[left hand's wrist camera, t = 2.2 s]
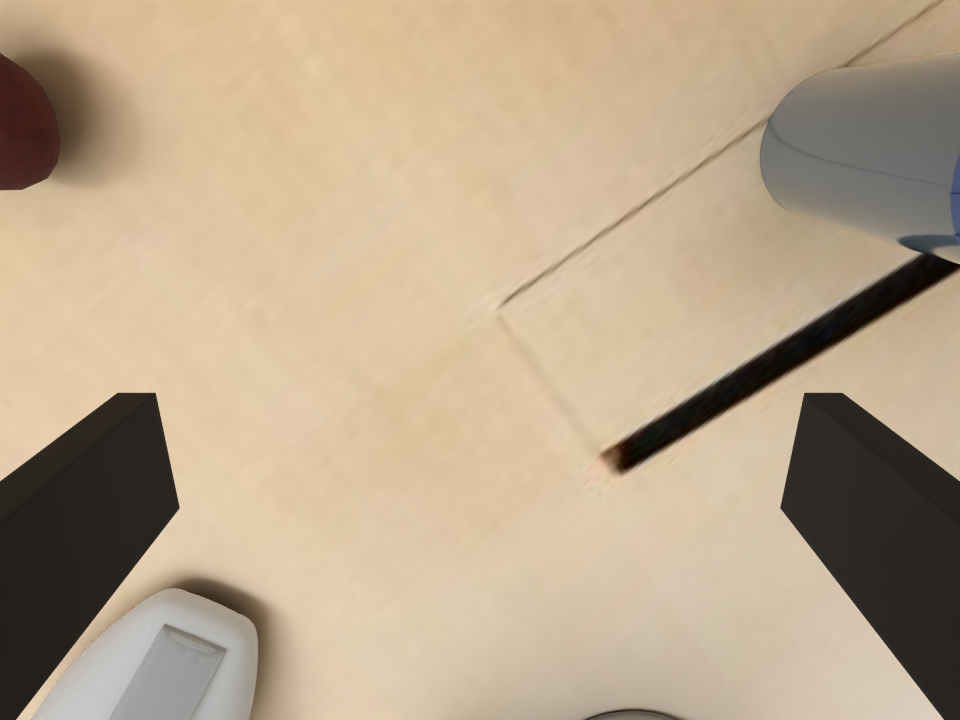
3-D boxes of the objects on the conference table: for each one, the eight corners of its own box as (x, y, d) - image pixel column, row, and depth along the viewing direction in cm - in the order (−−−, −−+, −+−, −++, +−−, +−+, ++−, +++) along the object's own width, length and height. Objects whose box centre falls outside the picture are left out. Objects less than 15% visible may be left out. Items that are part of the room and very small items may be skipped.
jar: (741, 110, 36) (970, 102, 19) (887, 39, 35) (1271, -37, 18) (781, 241, 39) (1012, 334, 22) (918, 180, 38) (1276, 229, 21)
